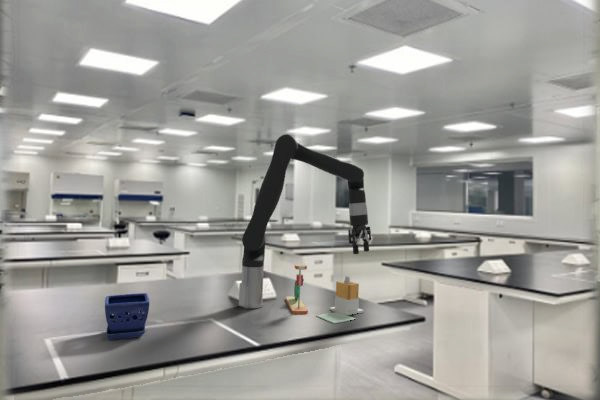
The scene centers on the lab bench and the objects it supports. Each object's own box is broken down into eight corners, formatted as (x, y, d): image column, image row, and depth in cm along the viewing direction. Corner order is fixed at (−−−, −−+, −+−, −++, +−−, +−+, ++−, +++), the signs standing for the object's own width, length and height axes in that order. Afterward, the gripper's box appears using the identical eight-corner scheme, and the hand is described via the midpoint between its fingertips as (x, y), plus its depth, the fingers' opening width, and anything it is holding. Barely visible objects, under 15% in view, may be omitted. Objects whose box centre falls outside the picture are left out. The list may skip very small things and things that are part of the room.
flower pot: (102, 343, 122) (103, 304, 123) (104, 330, 135) (105, 294, 135) (148, 338, 128) (150, 301, 128) (146, 326, 140) (147, 292, 140)
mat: (334, 323, 150) (334, 322, 150) (316, 316, 159) (316, 315, 159) (355, 319, 157) (355, 318, 157) (337, 312, 166) (337, 311, 166)
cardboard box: (348, 299, 164) (349, 285, 164) (335, 295, 170) (336, 281, 170) (358, 298, 167) (358, 283, 167) (345, 294, 173) (345, 280, 173)
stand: (345, 315, 162) (346, 279, 162) (329, 309, 170) (330, 275, 170) (363, 312, 167) (364, 277, 167) (347, 306, 176) (348, 273, 176)
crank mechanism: (308, 314, 162) (310, 266, 163) (292, 314, 161) (293, 266, 162) (299, 299, 187) (300, 258, 187) (285, 299, 186) (286, 257, 186)
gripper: (359, 213, 176) (362, 250, 176) (341, 215, 165) (344, 254, 165) (374, 212, 171) (377, 250, 171) (357, 214, 160) (360, 255, 160)
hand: (361, 252), depth 168 cm, fingers open, 8 cm apart
